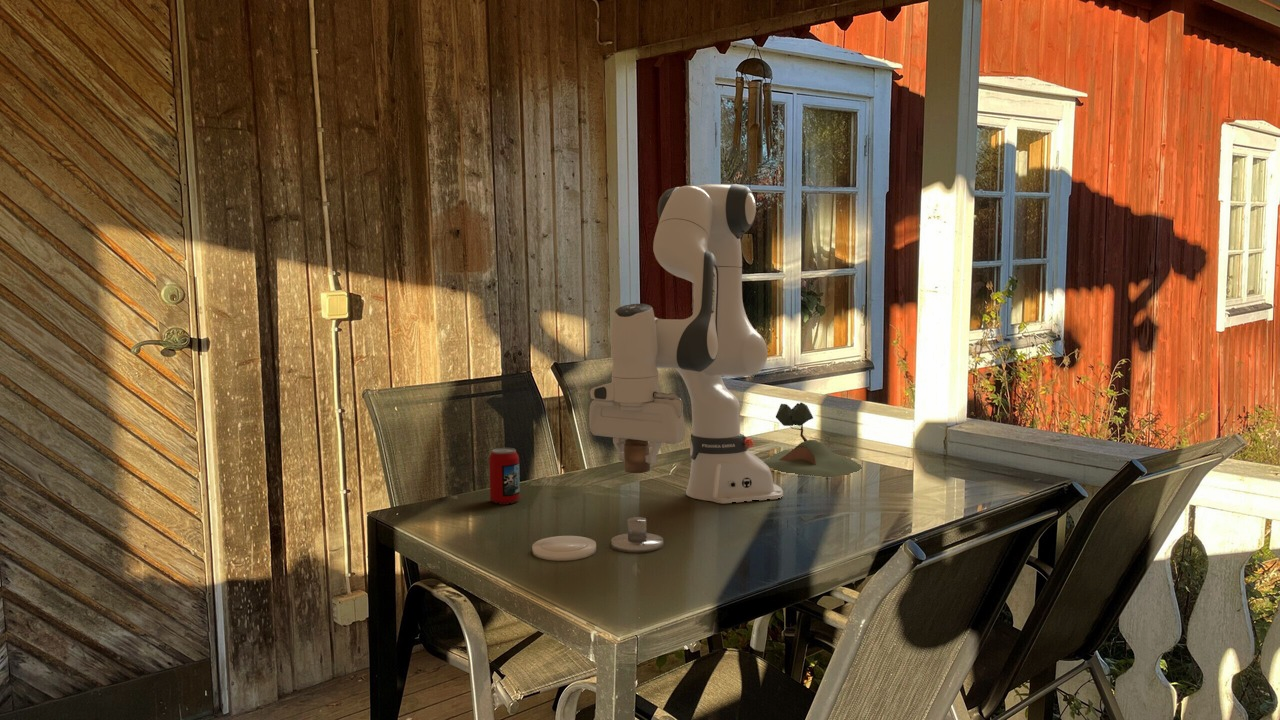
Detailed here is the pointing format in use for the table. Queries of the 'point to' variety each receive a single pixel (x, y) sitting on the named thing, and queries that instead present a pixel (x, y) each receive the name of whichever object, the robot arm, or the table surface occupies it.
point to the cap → (636, 456)
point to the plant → (808, 450)
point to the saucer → (564, 548)
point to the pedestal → (637, 538)
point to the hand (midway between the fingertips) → (637, 462)
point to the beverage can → (504, 476)
